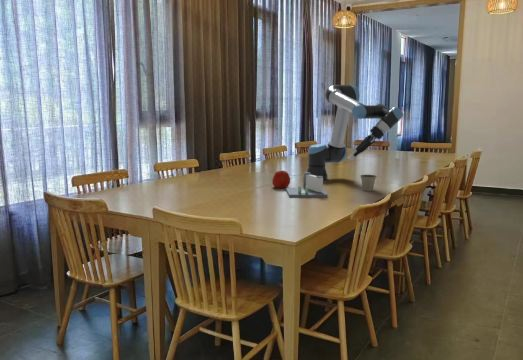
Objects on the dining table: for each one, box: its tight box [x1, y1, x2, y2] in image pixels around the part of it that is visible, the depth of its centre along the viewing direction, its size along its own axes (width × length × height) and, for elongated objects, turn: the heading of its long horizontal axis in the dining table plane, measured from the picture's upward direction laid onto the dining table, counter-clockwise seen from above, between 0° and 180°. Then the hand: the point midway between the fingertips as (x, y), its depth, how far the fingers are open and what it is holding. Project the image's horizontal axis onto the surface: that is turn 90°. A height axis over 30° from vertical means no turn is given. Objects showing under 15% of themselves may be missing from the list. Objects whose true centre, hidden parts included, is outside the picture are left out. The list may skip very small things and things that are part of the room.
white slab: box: [302, 171, 324, 192], centre depth 257 cm, size 16×4×9 cm, turn 27°
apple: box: [272, 170, 291, 189], centre depth 274 cm, size 11×11×11 cm
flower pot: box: [359, 174, 377, 192], centre depth 267 cm, size 9×9×9 cm
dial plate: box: [285, 185, 328, 198], centre depth 256 cm, size 22×21×6 cm
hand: (349, 159), depth 254 cm, fingers closed
